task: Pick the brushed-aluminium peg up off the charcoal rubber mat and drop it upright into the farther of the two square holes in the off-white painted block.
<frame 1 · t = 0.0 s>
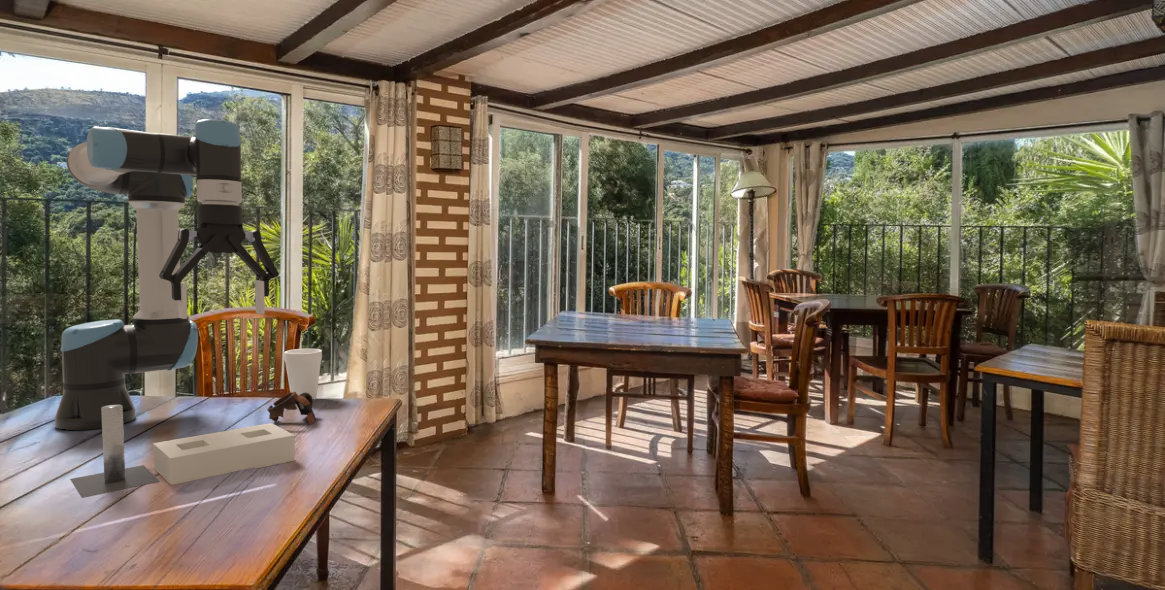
hand: (223, 315, 128), 28 cm above the table, fingers open, 13 cm apart
mat: (115, 482, 117), on the table
brown arched piece: (295, 422, 158), on the table
hole block: (226, 465, 127), on the table
foam cup: (304, 399, 182), on the table
peg: (114, 480, 117), resting on mat
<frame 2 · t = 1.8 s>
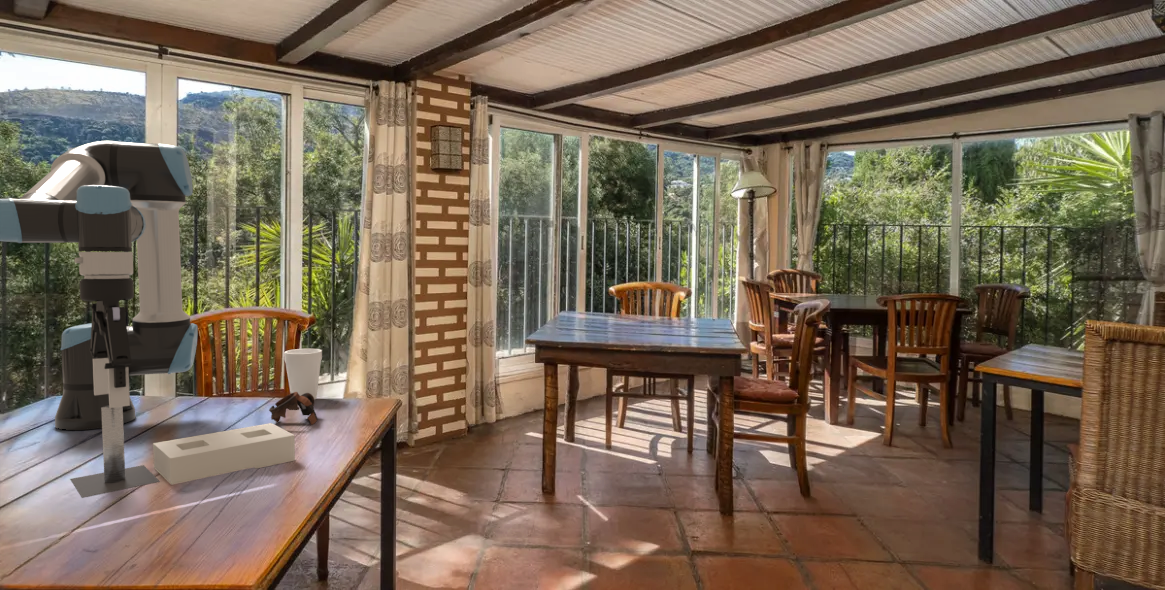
hand: (111, 400, 116), 15 cm above the table, fingers open, 13 cm apart
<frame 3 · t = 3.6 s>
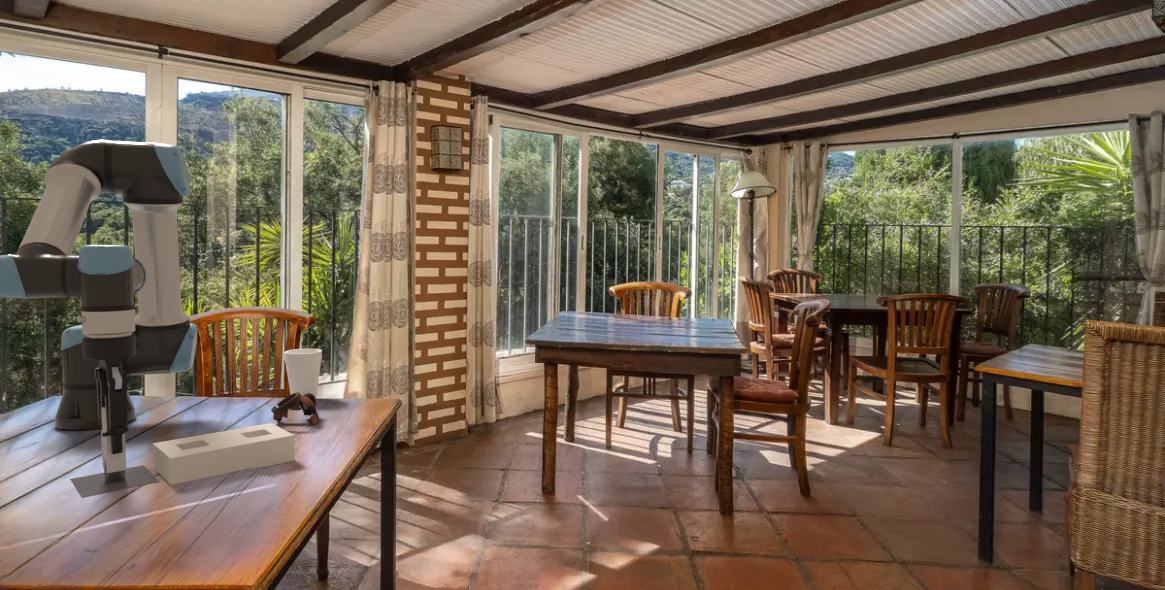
hand: (114, 468, 117), 3 cm above the table, fingers closed on peg, 3 cm apart
peg: (115, 480, 117), resting on mat, touching gripper
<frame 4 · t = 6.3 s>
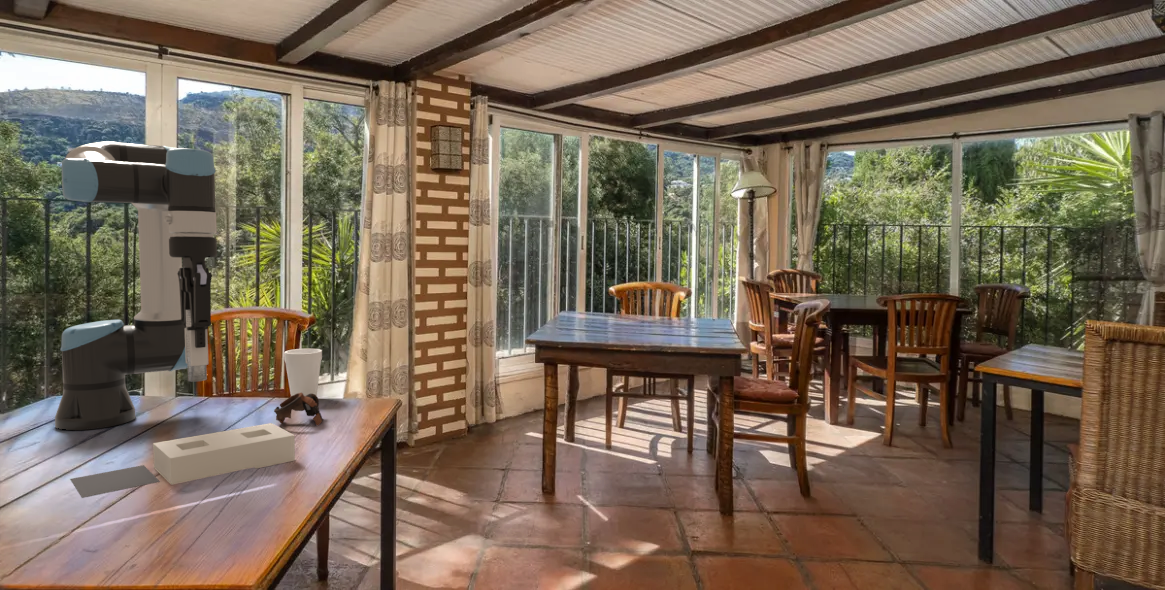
hand: (196, 363, 123), 20 cm above the table, fingers closed on peg, 3 cm apart
peg: (197, 379, 123), point 17 cm above the table, touching gripper
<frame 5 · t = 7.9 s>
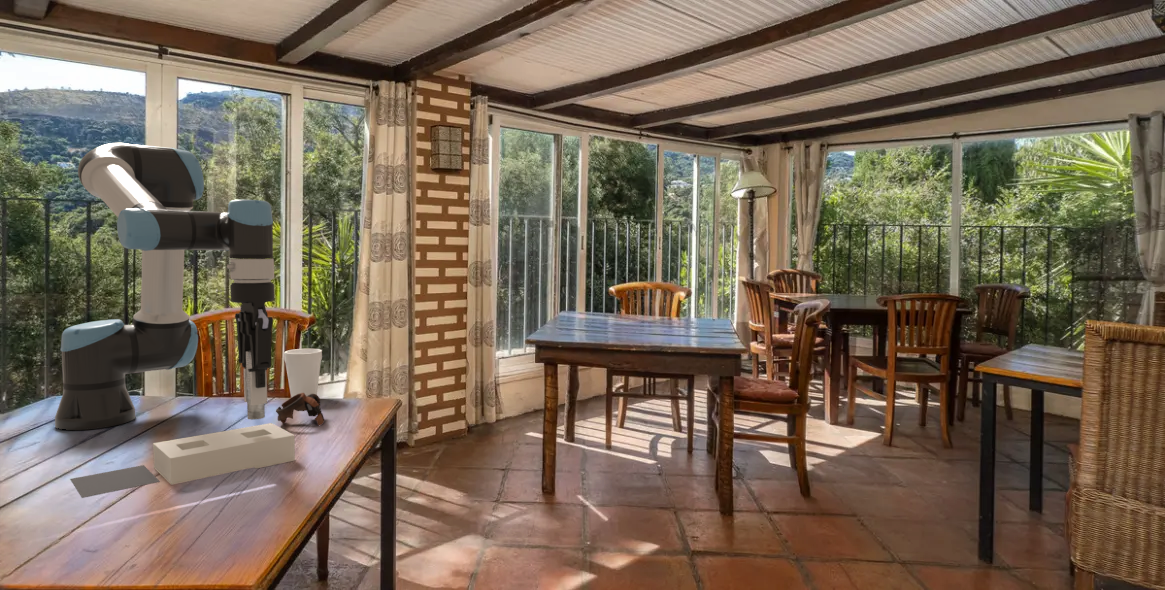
hand: (255, 402, 130), 11 cm above the table, fingers closed on peg, 3 cm apart
peg: (256, 417, 130), point 8 cm above the table, touching gripper
when the fingers open (6 cm above the table, at t = 9.0 s): peg drops 2 cm, resting in hole block.
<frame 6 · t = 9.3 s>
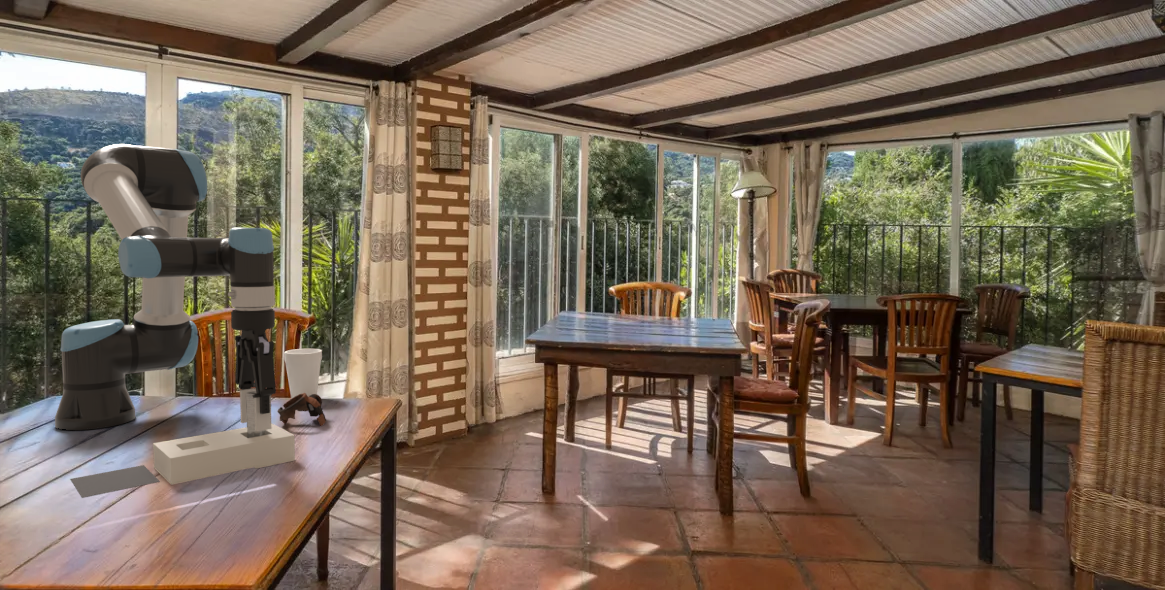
hand: (255, 425, 130), 7 cm above the table, fingers open, 7 cm apart
peg: (256, 458, 131), resting in hole block
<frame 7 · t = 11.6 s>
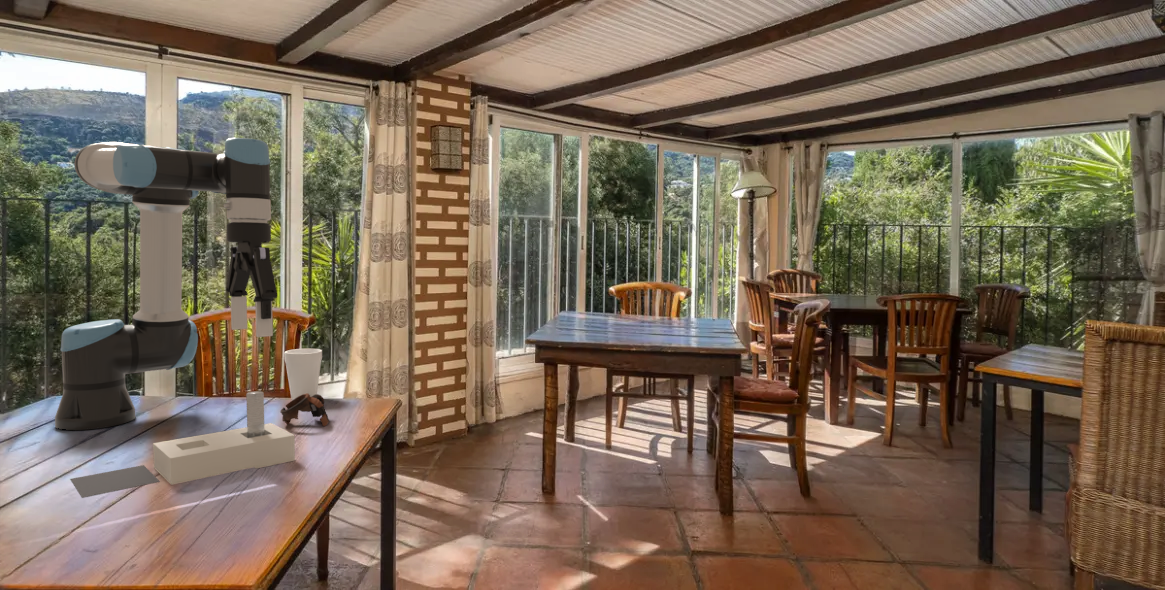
hand: (251, 332, 129), 25 cm above the table, fingers open, 13 cm apart
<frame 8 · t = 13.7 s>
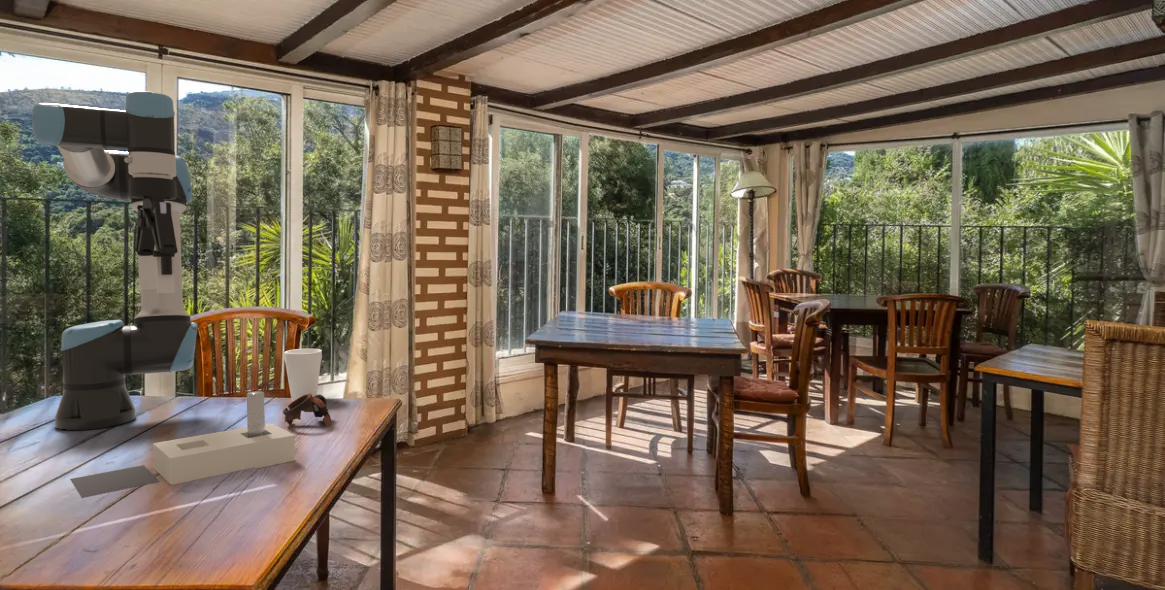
hand: (156, 291, 127), 33 cm above the table, fingers open, 13 cm apart
at the end: peg 0.1 cm from the target spot on the hole block, point 0.0 cm above the hole block's base; peg tilted 0°; the gripper is holding nothing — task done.
